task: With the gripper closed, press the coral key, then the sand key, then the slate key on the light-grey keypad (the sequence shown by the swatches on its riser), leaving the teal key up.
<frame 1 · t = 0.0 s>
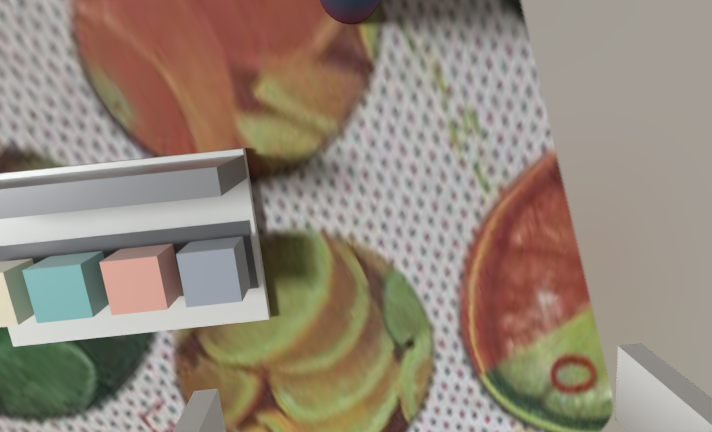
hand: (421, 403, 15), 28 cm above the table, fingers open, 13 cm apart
slate key: (215, 270, 38), point 5 cm above the table, slide at 0.0 cm
coral key: (143, 278, 38), point 5 cm above the table, slide at 0.0 cm
keypad: (128, 248, 42), on the table
teal key: (70, 285, 38), point 5 cm above the table, slide at 0.0 cm
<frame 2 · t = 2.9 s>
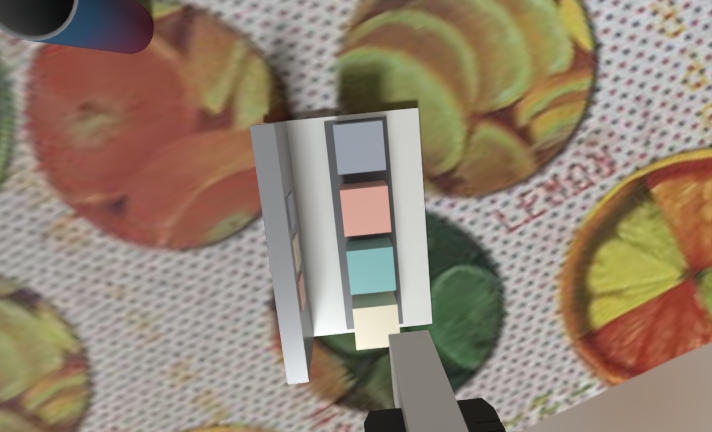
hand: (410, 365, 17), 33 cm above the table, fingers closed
sand key: (375, 319, 48), point 5 cm above the table, slide at 0.0 cm
cup: (128, 27, 45), on the table
slate key: (359, 146, 44), point 5 cm above the table, slide at 0.0 cm
coral key: (364, 207, 45), point 5 cm above the table, slide at 0.0 cm
keypad: (351, 227, 50), on the table
teal key: (370, 265, 47), point 5 cm above the table, slide at 0.0 cm
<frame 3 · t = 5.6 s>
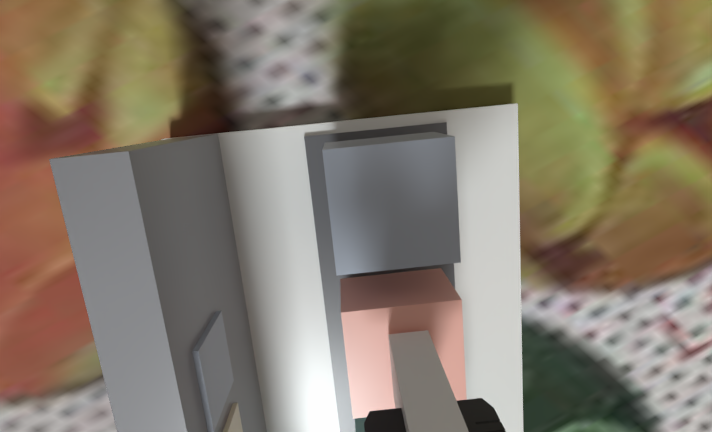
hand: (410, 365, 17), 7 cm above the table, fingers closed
slate key: (388, 198, 18), point 5 cm above the table, slide at 0.0 cm
coral key: (399, 338, 19), point 5 cm above the table, slide at 0.1 cm, touching gripper
keypad: (364, 351, 24), on the table
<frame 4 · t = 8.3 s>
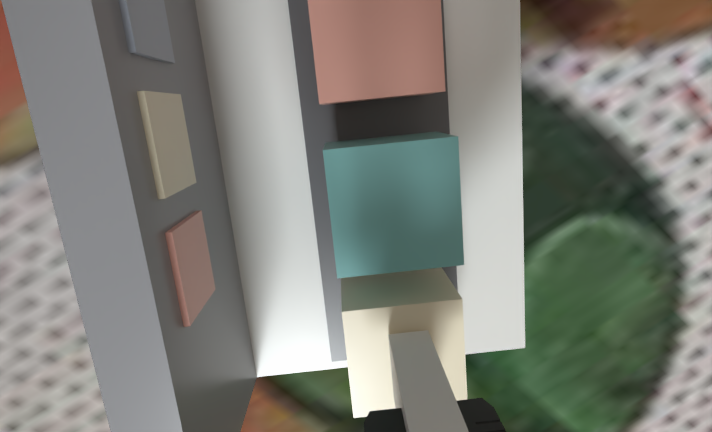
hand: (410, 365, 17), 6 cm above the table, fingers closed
sand key: (400, 337, 19), point 4 cm above the table, slide at 0.5 cm, touching gripper
coral key: (373, 37, 17), point 3 cm above the table, slide at 1.5 cm
keypad: (341, 120, 21), on the table
teal key: (390, 199, 17), point 5 cm above the table, slide at 0.0 cm
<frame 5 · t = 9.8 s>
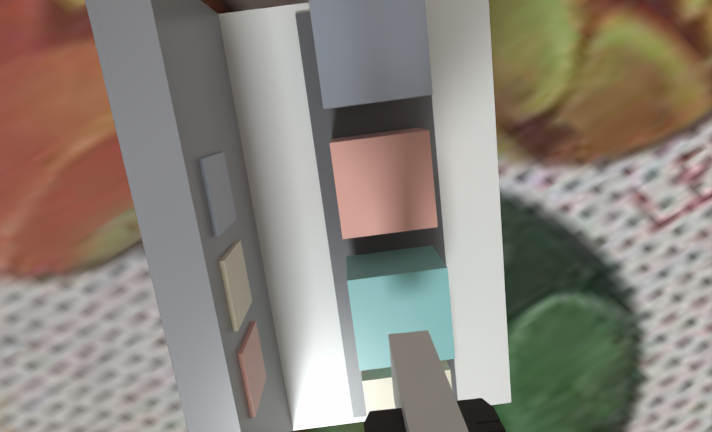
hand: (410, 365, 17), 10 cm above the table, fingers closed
sand key: (405, 393, 25), point 3 cm above the table, slide at 1.5 cm
slate key: (369, 49, 20), point 5 cm above the table, slide at 0.0 cm
coral key: (381, 180, 23), point 3 cm above the table, slide at 1.5 cm
keypad: (357, 227, 26), on the table
teal key: (397, 304, 23), point 5 cm above the table, slide at 0.0 cm
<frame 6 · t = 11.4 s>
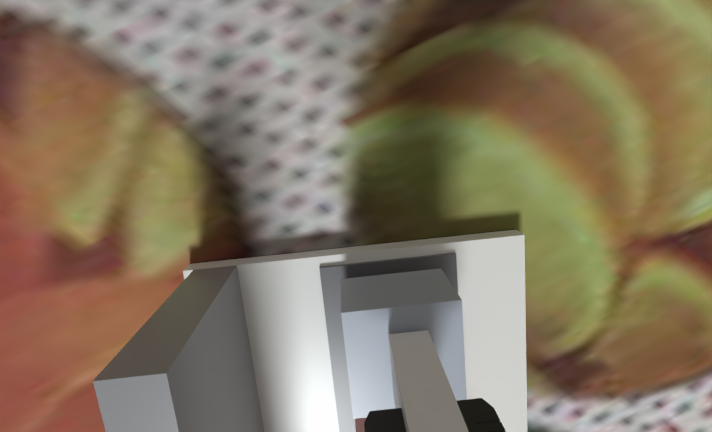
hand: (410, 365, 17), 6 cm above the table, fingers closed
slate key: (399, 338, 19), point 4 cm above the table, slide at 0.7 cm, touching gripper
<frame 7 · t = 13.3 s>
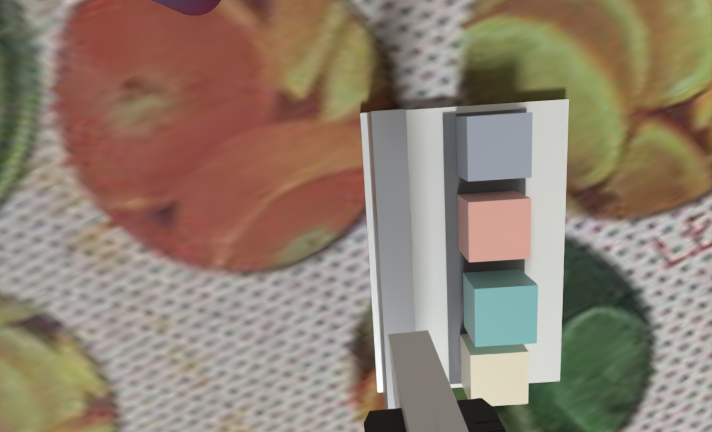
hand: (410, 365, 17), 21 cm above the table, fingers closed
sand key: (492, 367, 38), point 3 cm above the table, slide at 1.5 cm
slate key: (492, 145, 34), point 3 cm above the table, slide at 1.5 cm
coral key: (492, 225, 35), point 3 cm above the table, slide at 1.5 cm
keypad: (463, 252, 39), on the table
teal key: (498, 306, 35), point 5 cm above the table, slide at 0.0 cm
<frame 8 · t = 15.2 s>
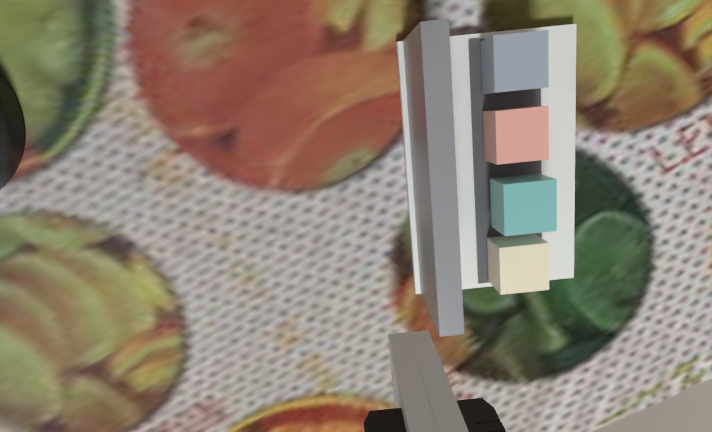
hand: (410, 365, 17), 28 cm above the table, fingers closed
sand key: (517, 262, 43), point 3 cm above the table, slide at 1.5 cm
slate key: (513, 63, 39), point 3 cm above the table, slide at 1.5 cm
coral key: (514, 134, 41), point 3 cm above the table, slide at 1.5 cm
keypad: (487, 165, 44), on the table
teal key: (522, 204, 41), point 5 cm above the table, slide at 0.0 cm
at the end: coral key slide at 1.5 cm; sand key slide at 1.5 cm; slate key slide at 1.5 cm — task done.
